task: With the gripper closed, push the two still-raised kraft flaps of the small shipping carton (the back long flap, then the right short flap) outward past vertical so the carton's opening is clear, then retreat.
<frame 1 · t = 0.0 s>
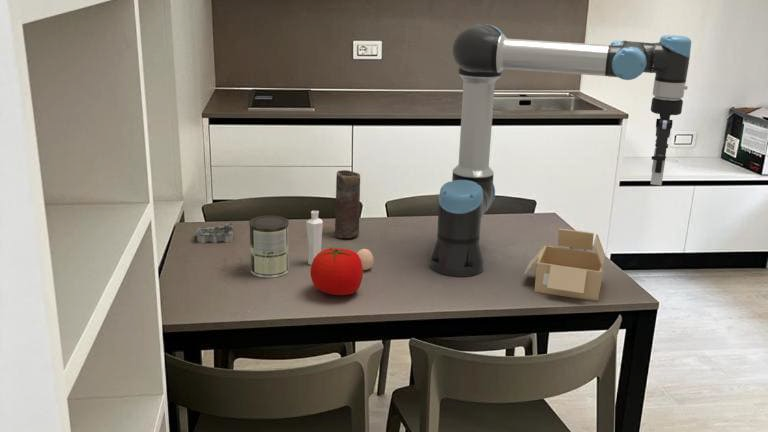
hand: (656, 178, 209), 28 cm above the table, fingers open, 13 cm apart
egg carton: (215, 240, 236), on the table
carton: (568, 286, 209), on the table
left flap: (533, 261, 210), point 6 cm above the table, hinge at -148.0°
back flap: (575, 239, 211), point 11 cm above the table, hinge at 25.0°
right flap: (599, 249, 204), point 11 cm above the table, hinge at 25.0°
front flap: (567, 278, 200), point 6 cm above the table, hinge at -148.0°
egg: (363, 270, 217), on the table
perfume bottle: (315, 263, 220), on the table
coffee can: (269, 271, 213), on the table
candle: (347, 236, 241), on the table
tomato: (337, 292, 201), on the table
pill bottle: (576, 261, 227), on the table
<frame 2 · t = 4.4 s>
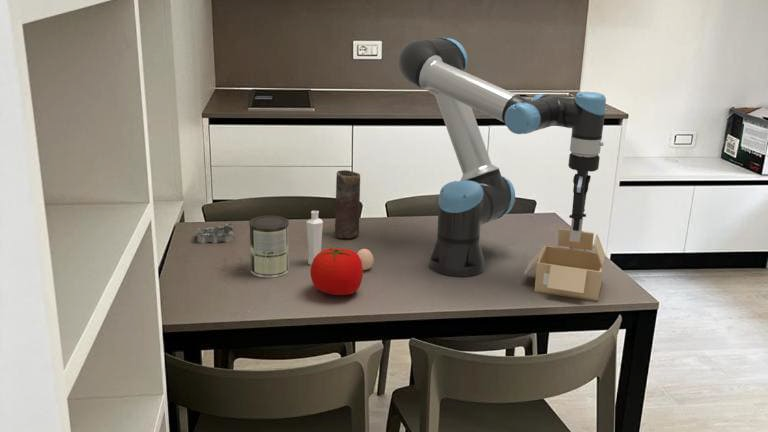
hand: (574, 241, 209), 12 cm above the table, fingers closed
back flap: (575, 239, 211), point 11 cm above the table, hinge at 24.2°, touching gripper
everything else where it was.
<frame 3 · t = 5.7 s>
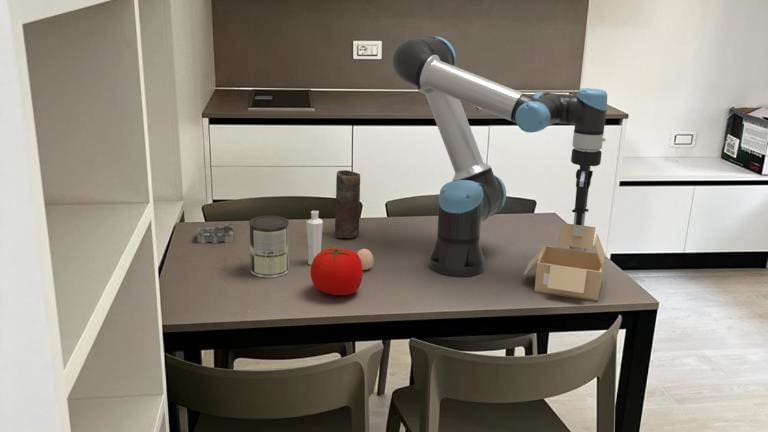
hand: (577, 235, 213), 12 cm above the table, fingers closed
back flap: (576, 236, 213), point 11 cm above the table, hinge at -23.9°, touching gripper
everything else where it was.
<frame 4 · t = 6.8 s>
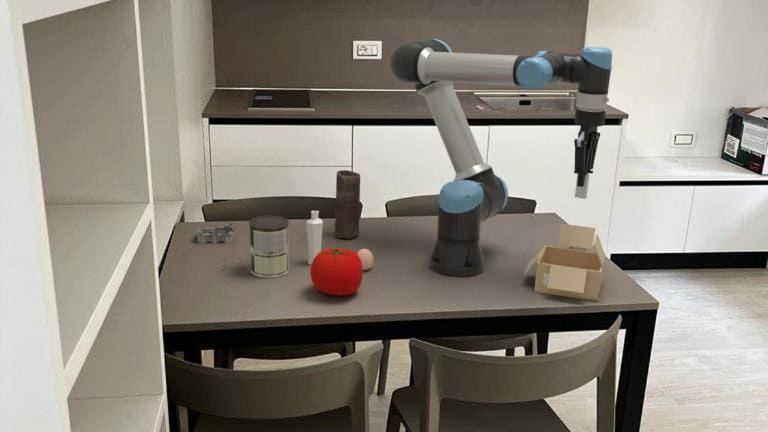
hand: (580, 197, 210), 22 cm above the table, fingers closed
back flap: (576, 236, 214), point 11 cm above the table, hinge at -35.7°
everything else where it was.
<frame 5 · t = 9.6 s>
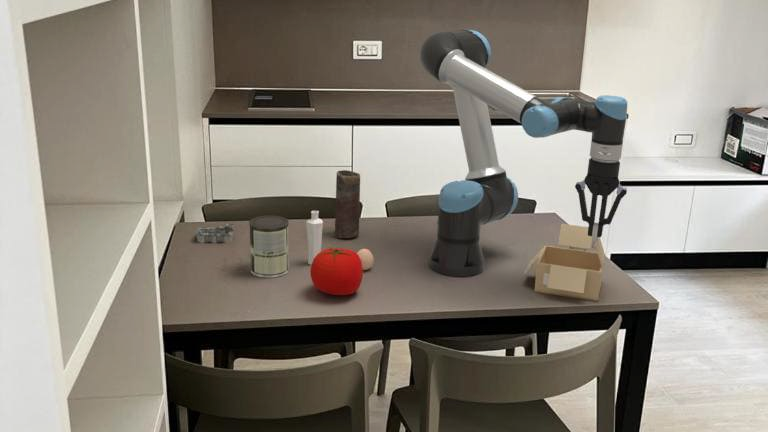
hand: (593, 248, 204), 12 cm above the table, fingers closed
back flap: (576, 236, 214), point 11 cm above the table, hinge at -36.3°
right flap: (599, 249, 204), point 11 cm above the table, hinge at 22.4°, touching gripper
everything else where it was.
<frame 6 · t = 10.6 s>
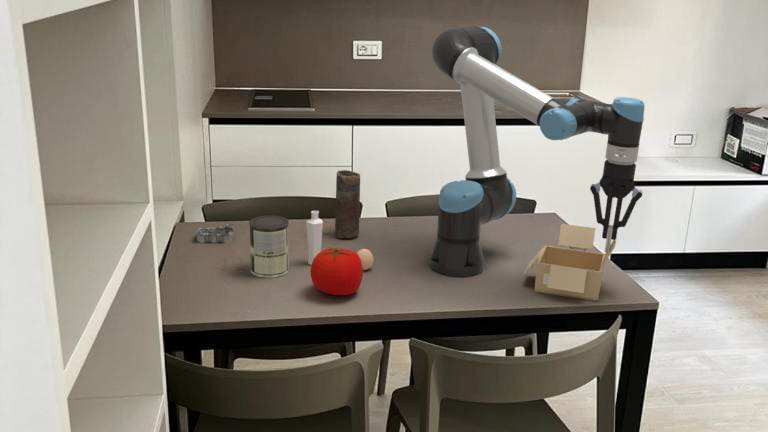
hand: (607, 250, 203), 12 cm above the table, fingers closed
right flap: (609, 250, 203), point 11 cm above the table, hinge at -20.7°, touching gripper
everything else where it was.
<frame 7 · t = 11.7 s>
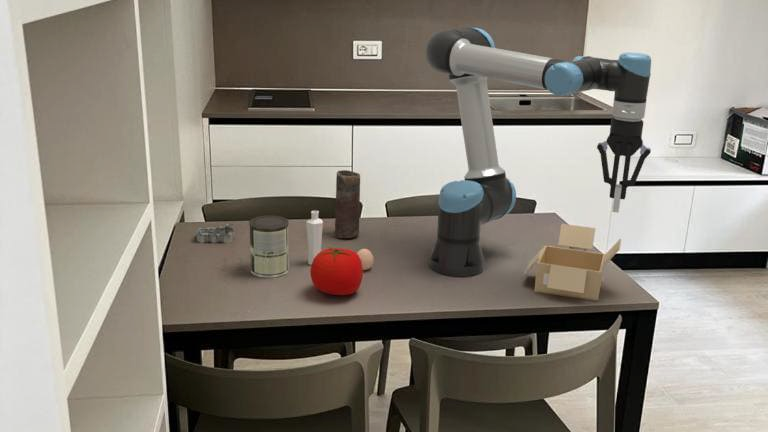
hand: (615, 210, 199), 22 cm above the table, fingers closed
right flap: (612, 252, 203), point 11 cm above the table, hinge at -33.1°
everything else where it was.
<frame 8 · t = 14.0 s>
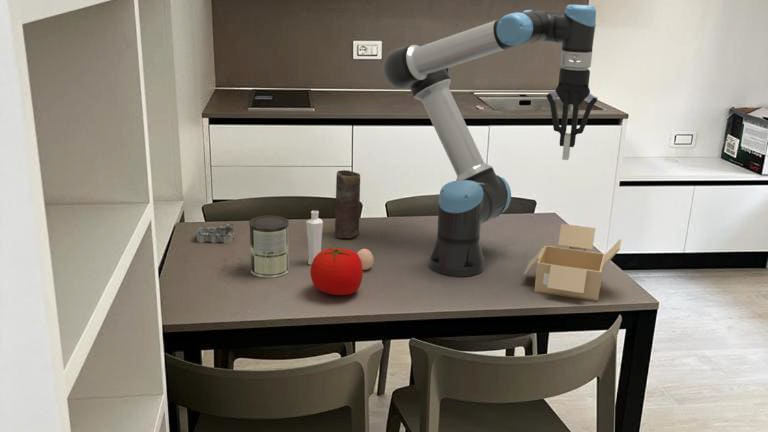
hand: (565, 158, 208), 32 cm above the table, fingers closed
right flap: (612, 252, 203), point 11 cm above the table, hinge at -33.6°
everything else where it was.
at the end: back flap at -36° (first picture: +25°); right flap at -34° (first picture: +25°) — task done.
